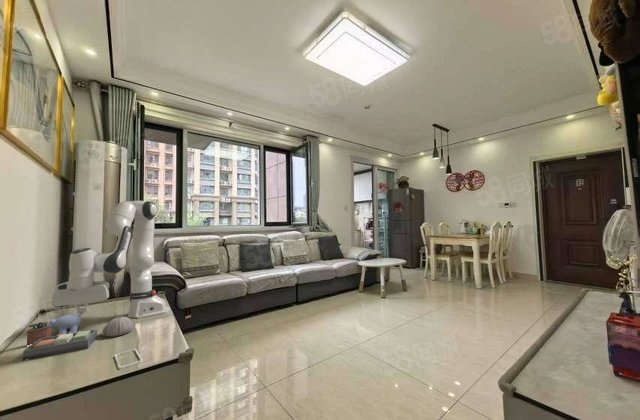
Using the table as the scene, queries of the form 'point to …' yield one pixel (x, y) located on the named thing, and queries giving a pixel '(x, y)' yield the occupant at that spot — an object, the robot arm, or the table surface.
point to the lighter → (38, 332)
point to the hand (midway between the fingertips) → (81, 312)
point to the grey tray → (59, 346)
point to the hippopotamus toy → (66, 323)
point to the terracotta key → (44, 343)
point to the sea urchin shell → (118, 326)
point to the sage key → (81, 335)
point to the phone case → (131, 363)
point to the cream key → (63, 338)
